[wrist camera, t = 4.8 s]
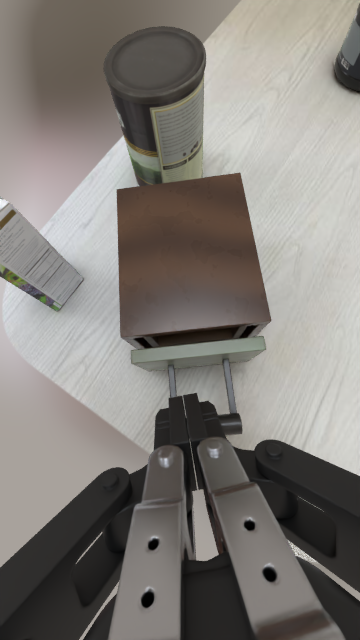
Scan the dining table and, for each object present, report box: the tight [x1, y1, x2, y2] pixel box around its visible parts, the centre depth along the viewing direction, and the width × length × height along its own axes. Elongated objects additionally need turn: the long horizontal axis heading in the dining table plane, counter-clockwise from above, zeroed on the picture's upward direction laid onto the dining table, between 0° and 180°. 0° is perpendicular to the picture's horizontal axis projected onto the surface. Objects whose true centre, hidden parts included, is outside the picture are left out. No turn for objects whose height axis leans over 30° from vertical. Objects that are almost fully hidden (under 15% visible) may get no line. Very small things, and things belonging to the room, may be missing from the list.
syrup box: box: [0, 197, 83, 311], centre depth 27 cm, size 6×6×14 cm
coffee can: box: [104, 26, 206, 187], centre depth 31 cm, size 10×10×14 cm
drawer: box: [131, 326, 266, 439], centre depth 26 cm, size 22×12×8 cm, turn 5°
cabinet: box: [117, 173, 271, 349], centre depth 28 cm, size 16×13×10 cm
